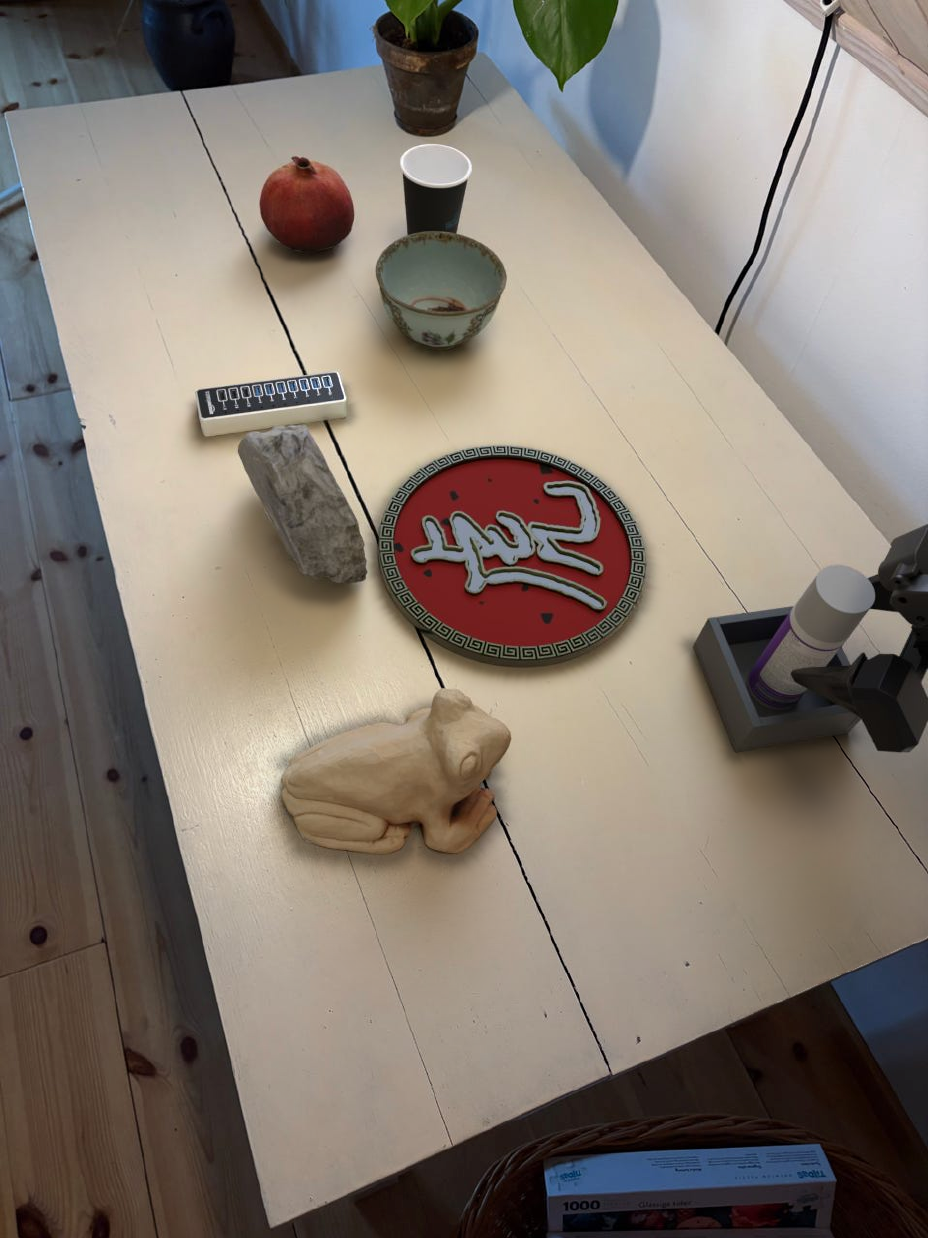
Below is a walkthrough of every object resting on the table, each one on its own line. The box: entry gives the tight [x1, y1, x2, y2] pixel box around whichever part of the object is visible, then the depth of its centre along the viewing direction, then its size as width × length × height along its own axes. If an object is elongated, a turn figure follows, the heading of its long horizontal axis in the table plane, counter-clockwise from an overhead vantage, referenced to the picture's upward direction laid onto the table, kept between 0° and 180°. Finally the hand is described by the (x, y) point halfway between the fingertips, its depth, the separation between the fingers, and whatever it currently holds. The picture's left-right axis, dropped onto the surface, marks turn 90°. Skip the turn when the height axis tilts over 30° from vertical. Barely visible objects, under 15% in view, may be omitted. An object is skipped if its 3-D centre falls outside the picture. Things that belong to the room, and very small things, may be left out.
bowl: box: [375, 231, 508, 351], centre depth 101 cm, size 14×13×8 cm
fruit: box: [258, 155, 355, 253], centre depth 107 cm, size 11×10×10 cm
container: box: [747, 564, 875, 710], centre depth 76 cm, size 5×5×15 cm
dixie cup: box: [399, 143, 473, 235], centre depth 108 cm, size 8×8×11 cm
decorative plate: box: [377, 444, 647, 668], centre depth 88 cm, size 25×1×25 cm
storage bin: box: [692, 605, 862, 753], centre depth 81 cm, size 11×11×5 cm
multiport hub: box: [194, 371, 348, 437], centre depth 95 cm, size 4×14×2 cm, turn 106°
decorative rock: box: [237, 424, 368, 585], centre depth 81 cm, size 16×7×15 cm, turn 28°
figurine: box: [280, 687, 512, 855], centre depth 71 cm, size 12×17×10 cm
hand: (815, 635), depth 75 cm, fingers open, 9 cm apart
